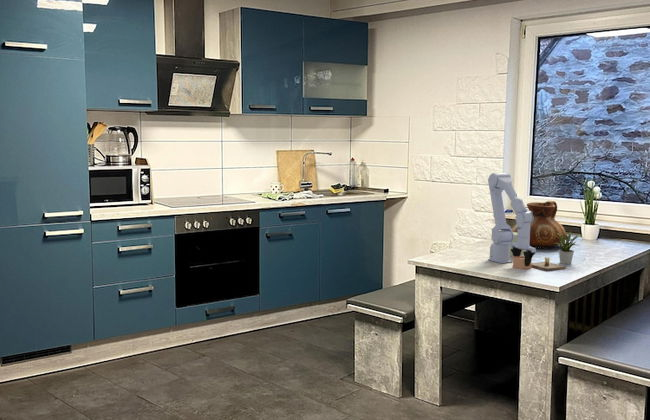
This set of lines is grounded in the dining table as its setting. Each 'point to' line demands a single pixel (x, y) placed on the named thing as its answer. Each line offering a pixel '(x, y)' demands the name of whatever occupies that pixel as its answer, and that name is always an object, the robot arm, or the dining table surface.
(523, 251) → the can
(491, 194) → the robot arm
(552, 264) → the keeper
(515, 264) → the open box
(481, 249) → the dining table surface
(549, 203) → the jug
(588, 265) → the dining table surface
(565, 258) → the house plant
